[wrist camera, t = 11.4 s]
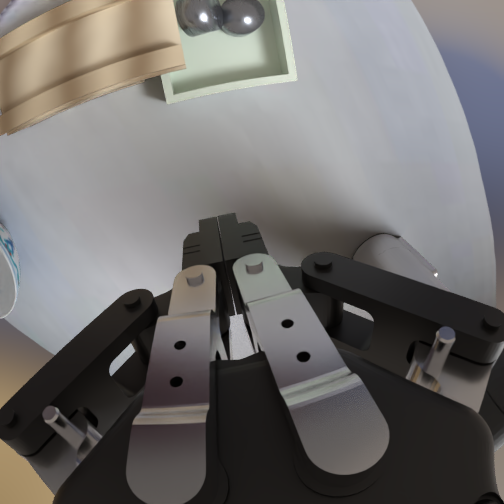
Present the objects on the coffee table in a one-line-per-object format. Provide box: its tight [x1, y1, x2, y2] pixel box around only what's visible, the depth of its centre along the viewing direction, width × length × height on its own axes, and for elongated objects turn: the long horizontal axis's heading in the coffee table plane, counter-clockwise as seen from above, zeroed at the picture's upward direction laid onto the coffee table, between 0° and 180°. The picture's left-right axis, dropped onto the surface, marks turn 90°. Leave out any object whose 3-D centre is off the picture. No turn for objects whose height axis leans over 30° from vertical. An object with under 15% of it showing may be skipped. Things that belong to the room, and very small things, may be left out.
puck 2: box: [221, 0, 265, 37], centre depth 24 cm, size 4×4×2 cm
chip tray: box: [161, 0, 297, 105], centre depth 24 cm, size 13×16×3 cm
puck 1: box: [175, 0, 223, 37], centre depth 21 cm, size 4×4×2 cm
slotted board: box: [0, 0, 186, 136], centre depth 21 cm, size 18×10×8 cm, turn 99°
